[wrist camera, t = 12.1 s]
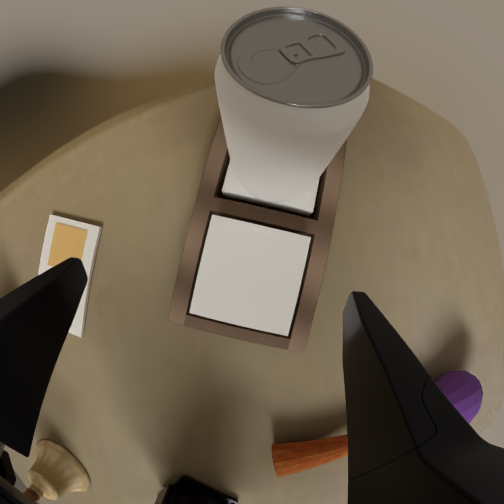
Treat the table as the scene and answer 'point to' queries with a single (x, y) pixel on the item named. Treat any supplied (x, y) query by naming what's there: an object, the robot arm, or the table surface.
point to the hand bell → (55, 473)
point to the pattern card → (71, 255)
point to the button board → (213, 205)
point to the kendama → (328, 449)
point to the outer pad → (297, 205)
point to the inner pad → (250, 275)
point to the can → (289, 97)
